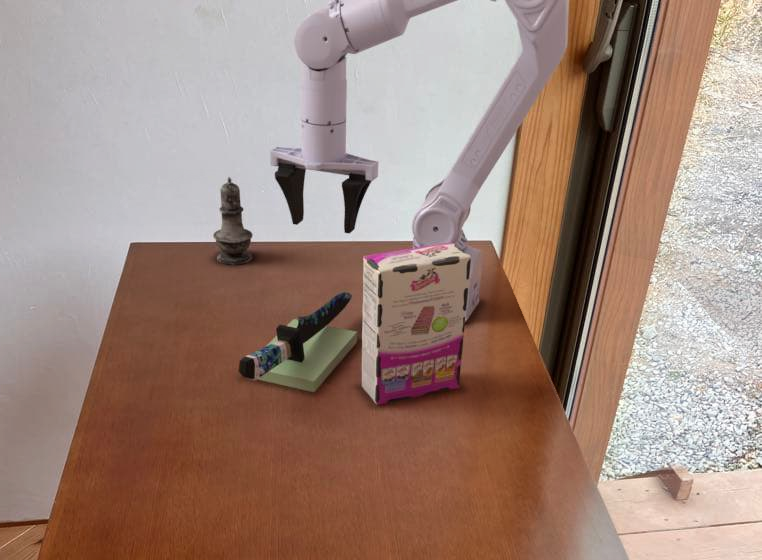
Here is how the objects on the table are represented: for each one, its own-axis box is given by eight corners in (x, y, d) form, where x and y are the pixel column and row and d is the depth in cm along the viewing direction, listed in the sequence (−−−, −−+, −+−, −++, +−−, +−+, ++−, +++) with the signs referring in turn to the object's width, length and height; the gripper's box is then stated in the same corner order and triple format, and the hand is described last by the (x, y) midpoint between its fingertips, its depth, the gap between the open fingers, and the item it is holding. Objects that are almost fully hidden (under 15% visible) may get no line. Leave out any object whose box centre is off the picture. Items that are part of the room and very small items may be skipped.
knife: (248, 399, 98) (249, 361, 95) (225, 392, 99) (225, 354, 96) (367, 319, 121) (370, 287, 119) (347, 314, 122) (350, 282, 120)
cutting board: (356, 342, 115) (357, 331, 114) (314, 392, 105) (314, 381, 104) (293, 329, 117) (293, 318, 116) (245, 377, 107) (245, 366, 106)
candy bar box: (440, 370, 110) (452, 239, 99) (459, 389, 106) (474, 256, 96) (357, 386, 106) (361, 253, 96) (375, 407, 103) (380, 270, 92)
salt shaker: (210, 263, 133) (203, 181, 126) (221, 249, 138) (215, 169, 130) (248, 267, 133) (243, 185, 125) (258, 252, 137) (254, 172, 130)
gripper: (258, 120, 111) (262, 227, 120) (366, 134, 107) (362, 245, 116) (281, 107, 116) (284, 211, 125) (385, 120, 112) (381, 227, 121)
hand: (323, 226), depth 121 cm, fingers open, 7 cm apart
